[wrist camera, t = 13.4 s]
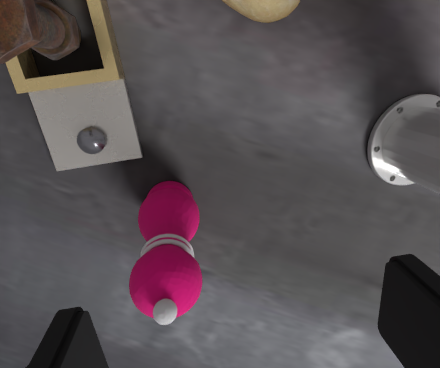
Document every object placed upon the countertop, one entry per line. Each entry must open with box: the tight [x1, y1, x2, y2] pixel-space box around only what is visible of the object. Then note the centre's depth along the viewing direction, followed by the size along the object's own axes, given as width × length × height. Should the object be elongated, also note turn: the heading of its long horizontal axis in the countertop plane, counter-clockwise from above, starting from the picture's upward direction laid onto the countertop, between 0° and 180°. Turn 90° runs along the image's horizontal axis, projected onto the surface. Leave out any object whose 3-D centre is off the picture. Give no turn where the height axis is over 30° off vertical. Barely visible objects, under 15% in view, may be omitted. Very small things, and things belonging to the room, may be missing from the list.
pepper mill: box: [129, 181, 202, 325], centre depth 30 cm, size 7×7×20 cm
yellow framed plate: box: [6, 0, 143, 171], centre depth 29 cm, size 10×28×4 cm, turn 7°
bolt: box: [0, 0, 81, 64], centre depth 24 cm, size 6×5×15 cm
